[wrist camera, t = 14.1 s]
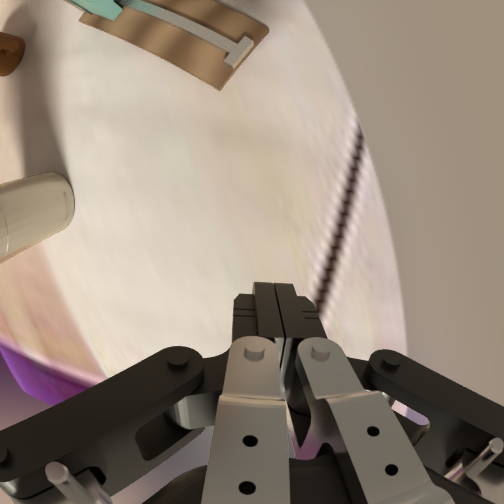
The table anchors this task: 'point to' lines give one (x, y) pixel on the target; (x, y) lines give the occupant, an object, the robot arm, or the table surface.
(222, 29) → the board
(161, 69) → the table surface
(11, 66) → the mug
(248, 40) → the rail
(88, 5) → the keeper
